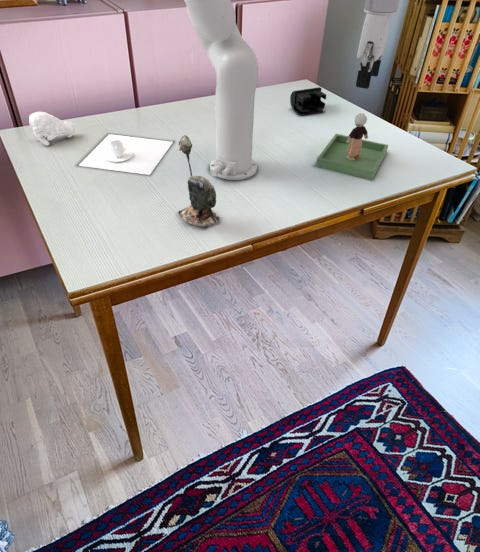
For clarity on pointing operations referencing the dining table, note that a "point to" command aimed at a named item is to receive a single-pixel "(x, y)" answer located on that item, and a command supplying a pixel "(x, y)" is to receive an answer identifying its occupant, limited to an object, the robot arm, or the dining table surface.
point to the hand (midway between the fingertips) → (366, 81)
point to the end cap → (307, 101)
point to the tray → (362, 167)
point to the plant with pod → (198, 195)
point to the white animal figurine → (49, 126)
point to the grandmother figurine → (357, 137)
